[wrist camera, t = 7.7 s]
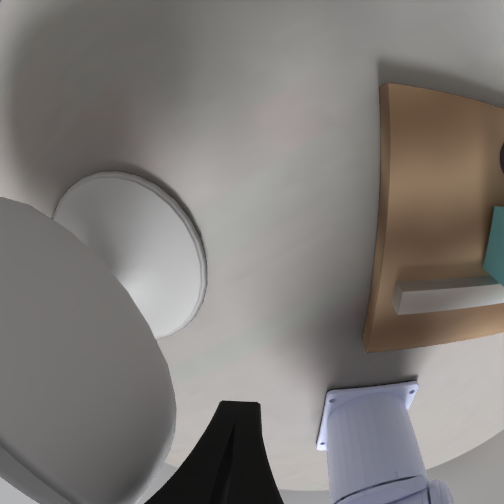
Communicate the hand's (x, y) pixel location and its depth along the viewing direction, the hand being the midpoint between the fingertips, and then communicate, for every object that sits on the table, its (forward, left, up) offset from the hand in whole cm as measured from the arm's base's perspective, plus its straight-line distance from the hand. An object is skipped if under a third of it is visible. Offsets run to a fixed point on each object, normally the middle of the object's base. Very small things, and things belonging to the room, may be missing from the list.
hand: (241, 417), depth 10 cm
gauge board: (+4, -19, -9) cm, 22 cm away
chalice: (+2, +9, -10) cm, 13 cm away
